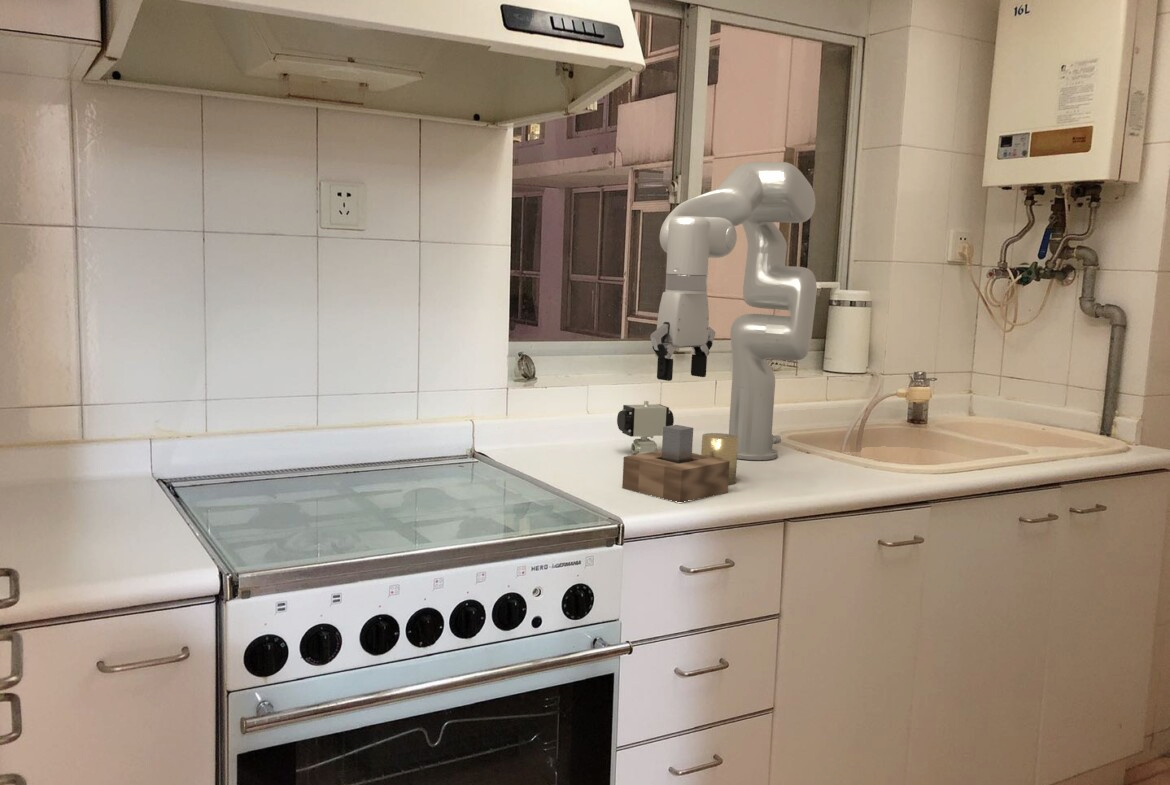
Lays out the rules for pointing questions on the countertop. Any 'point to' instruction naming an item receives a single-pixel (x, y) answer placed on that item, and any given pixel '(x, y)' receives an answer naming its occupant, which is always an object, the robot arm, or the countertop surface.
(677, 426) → the square bit
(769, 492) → the countertop surface
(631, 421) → the pneumatic valve
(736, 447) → the round bit
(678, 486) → the bore block
